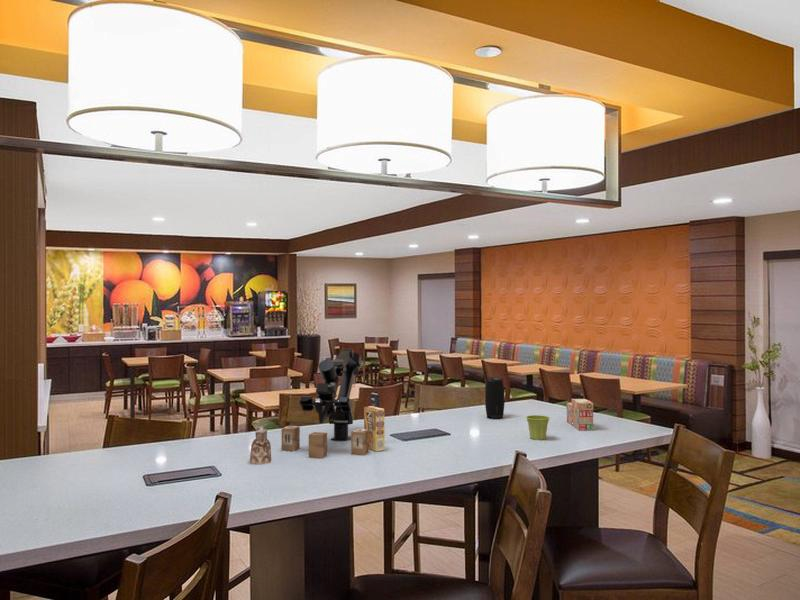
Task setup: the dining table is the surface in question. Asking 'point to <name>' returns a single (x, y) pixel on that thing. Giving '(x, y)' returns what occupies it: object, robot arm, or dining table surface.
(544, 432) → the plant pot
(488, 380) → the portable speaker
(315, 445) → the plain block
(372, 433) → the candy box
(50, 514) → the dining table surface
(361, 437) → the tile block
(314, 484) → the dining table surface
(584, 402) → the patterned cardboard box
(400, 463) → the dining table surface
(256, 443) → the figurine
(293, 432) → the tile block
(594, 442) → the dining table surface
